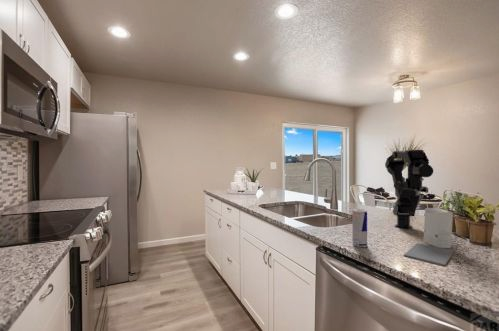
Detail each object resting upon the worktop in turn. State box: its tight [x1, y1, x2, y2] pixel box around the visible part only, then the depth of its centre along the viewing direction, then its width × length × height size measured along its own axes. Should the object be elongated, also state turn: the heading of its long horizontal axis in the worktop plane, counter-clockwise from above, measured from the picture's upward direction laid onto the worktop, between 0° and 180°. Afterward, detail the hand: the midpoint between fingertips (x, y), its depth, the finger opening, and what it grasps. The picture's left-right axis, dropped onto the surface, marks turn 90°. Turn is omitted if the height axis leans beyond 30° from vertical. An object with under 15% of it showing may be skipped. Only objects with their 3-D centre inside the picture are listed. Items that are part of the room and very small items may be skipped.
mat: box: [403, 242, 455, 267], centre depth 92 cm, size 18×12×1 cm, turn 132°
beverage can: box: [351, 208, 368, 248], centre depth 101 cm, size 6×6×15 cm
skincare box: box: [422, 207, 454, 249], centre depth 101 cm, size 8×6×15 cm
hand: (414, 208), depth 116 cm, fingers closed
